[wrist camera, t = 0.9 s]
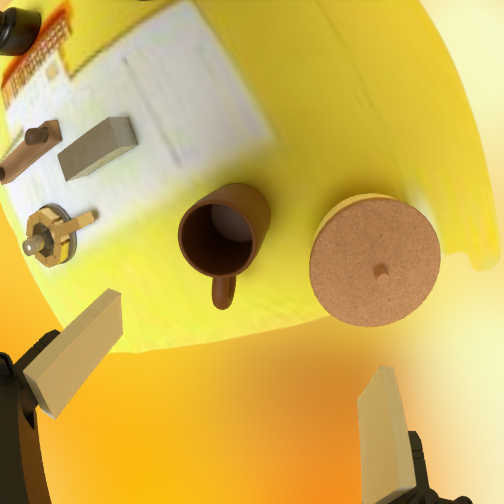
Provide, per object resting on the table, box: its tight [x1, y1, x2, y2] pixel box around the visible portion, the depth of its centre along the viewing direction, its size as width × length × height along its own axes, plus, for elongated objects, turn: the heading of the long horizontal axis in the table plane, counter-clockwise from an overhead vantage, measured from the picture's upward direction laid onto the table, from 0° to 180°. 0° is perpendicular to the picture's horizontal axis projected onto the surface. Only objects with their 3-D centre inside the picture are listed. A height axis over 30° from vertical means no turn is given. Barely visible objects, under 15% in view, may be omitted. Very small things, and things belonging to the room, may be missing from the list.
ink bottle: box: [0, 7, 40, 56], centre depth 23 cm, size 10×9×12 cm
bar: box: [57, 117, 138, 182], centre depth 32 cm, size 10×4×4 cm, turn 110°
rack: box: [0, 120, 62, 185], centre depth 34 cm, size 4×17×6 cm, turn 108°
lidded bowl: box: [309, 193, 440, 327], centre depth 28 cm, size 13×13×11 cm
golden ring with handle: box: [26, 208, 95, 268], centre depth 38 cm, size 9×16×3 cm, turn 108°
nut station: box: [23, 204, 77, 264], centre depth 38 cm, size 10×10×7 cm
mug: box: [178, 184, 270, 310], centre depth 31 cm, size 12×8×9 cm, turn 179°
